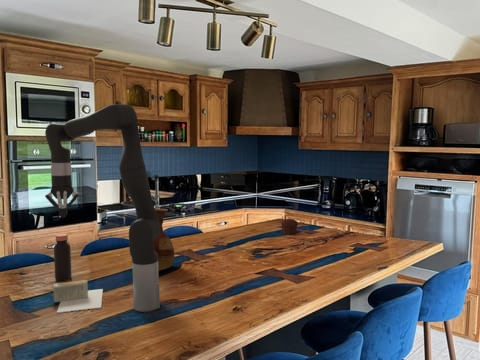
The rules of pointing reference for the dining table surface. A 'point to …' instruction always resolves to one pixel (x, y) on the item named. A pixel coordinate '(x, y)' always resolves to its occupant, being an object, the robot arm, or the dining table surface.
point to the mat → (82, 302)
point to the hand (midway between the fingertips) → (63, 217)
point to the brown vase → (163, 244)
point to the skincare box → (70, 290)
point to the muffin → (289, 226)
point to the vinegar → (62, 258)
